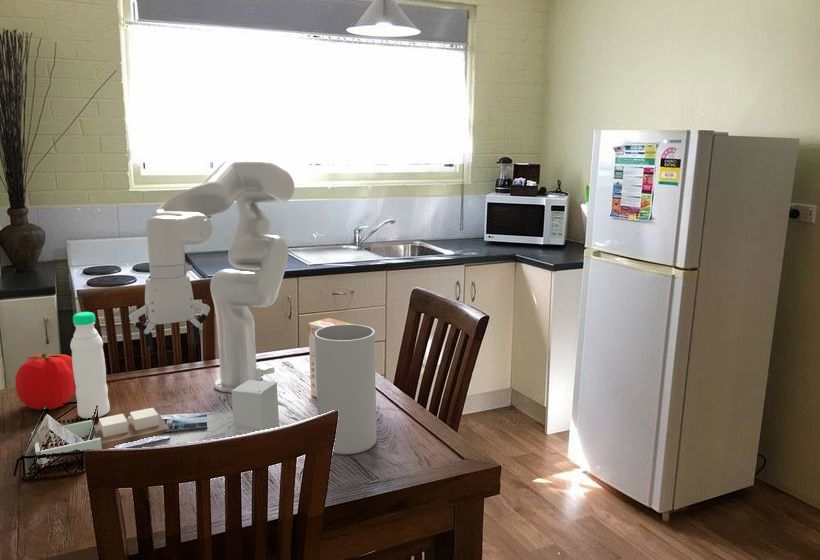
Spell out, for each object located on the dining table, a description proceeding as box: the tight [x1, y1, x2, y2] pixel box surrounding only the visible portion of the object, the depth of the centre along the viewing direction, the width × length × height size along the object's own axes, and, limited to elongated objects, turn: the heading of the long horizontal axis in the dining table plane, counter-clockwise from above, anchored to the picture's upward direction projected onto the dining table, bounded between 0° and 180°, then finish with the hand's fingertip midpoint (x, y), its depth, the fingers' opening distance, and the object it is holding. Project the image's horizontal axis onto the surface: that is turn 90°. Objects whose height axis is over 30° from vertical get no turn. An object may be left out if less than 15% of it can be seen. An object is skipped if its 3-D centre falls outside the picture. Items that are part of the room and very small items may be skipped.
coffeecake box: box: [307, 317, 350, 398], centre depth 175 cm, size 15×7×20 cm, turn 47°
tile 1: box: [98, 413, 128, 437], centre depth 153 cm, size 5×5×2 cm
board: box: [93, 411, 170, 449], centre depth 155 cm, size 14×11×2 cm
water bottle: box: [69, 311, 111, 420], centre depth 166 cm, size 7×7×25 cm
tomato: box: [14, 352, 76, 411], centre depth 173 cm, size 16×14×14 cm
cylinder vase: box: [315, 323, 378, 455], centre depth 149 cm, size 12×12×25 cm
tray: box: [31, 419, 102, 464], centre depth 148 cm, size 12×12×4 cm
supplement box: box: [231, 380, 280, 437], centre depth 152 cm, size 7×7×13 cm
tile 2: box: [129, 407, 159, 430], centre depth 156 cm, size 5×5×2 cm
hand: (173, 346), depth 157 cm, fingers open, 9 cm apart
